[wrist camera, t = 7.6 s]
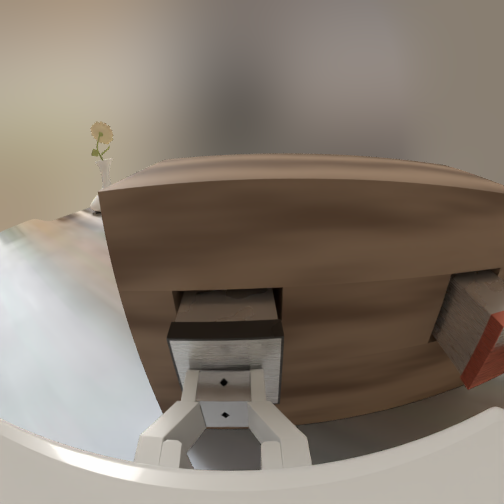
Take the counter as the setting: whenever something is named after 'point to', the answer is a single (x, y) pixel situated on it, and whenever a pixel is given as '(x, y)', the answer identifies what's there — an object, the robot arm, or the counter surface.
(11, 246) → the counter surface
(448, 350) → the plunger right
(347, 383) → the button panel
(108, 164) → the flower in vase
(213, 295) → the plunger left
